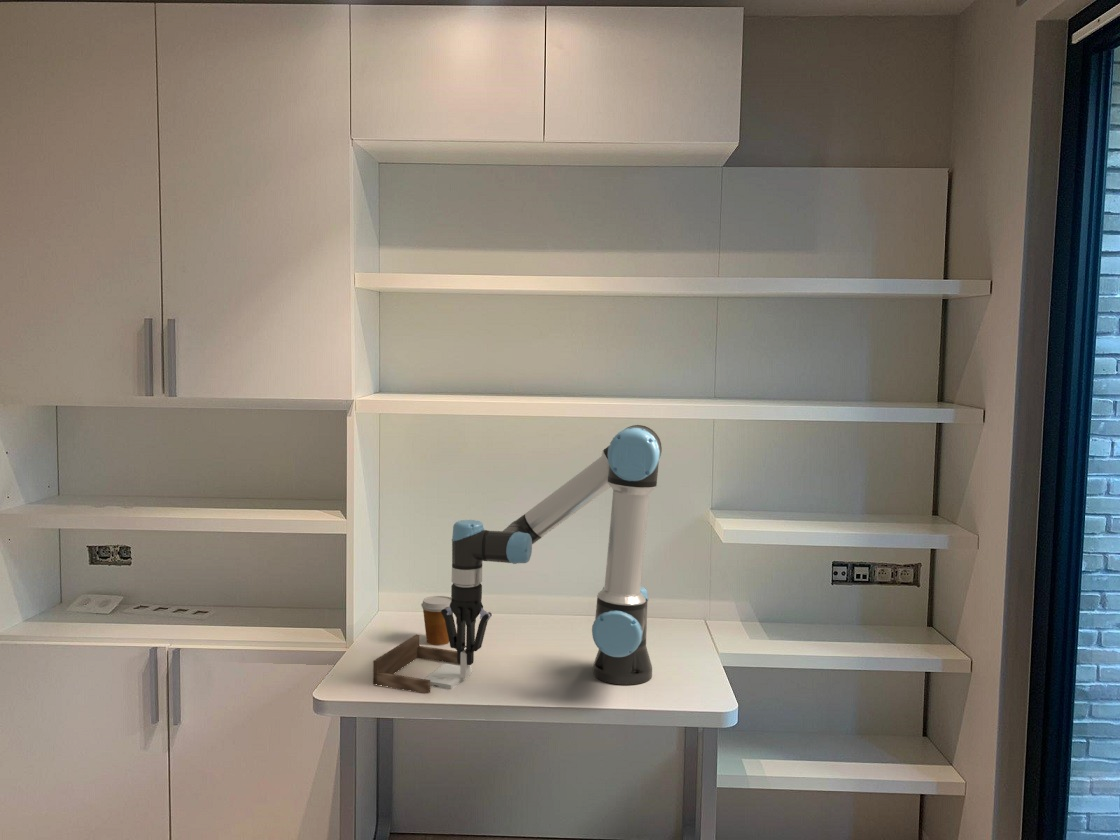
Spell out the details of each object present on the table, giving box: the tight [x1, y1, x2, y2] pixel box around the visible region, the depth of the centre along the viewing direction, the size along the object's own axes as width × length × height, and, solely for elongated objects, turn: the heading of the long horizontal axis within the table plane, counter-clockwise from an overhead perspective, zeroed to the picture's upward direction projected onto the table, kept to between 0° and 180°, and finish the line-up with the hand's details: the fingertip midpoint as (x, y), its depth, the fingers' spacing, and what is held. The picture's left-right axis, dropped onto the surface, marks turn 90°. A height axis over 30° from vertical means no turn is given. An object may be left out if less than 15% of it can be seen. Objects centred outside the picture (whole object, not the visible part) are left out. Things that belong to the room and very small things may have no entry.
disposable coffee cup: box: [421, 595, 452, 646], centre depth 244 cm, size 10×10×12 cm
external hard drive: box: [424, 663, 473, 690], centre depth 217 cm, size 2×8×12 cm
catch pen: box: [372, 634, 460, 694], centre depth 219 cm, size 15×22×6 cm
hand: (465, 676), depth 215 cm, fingers closed
